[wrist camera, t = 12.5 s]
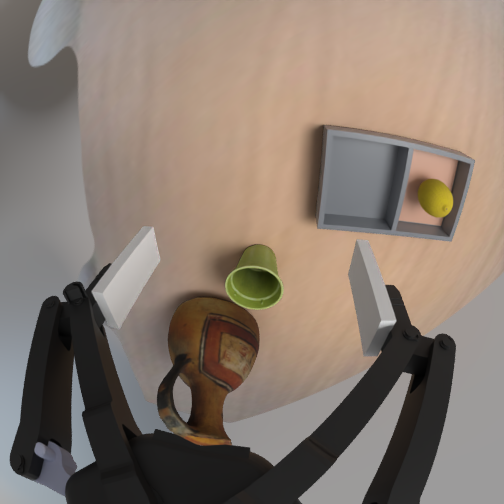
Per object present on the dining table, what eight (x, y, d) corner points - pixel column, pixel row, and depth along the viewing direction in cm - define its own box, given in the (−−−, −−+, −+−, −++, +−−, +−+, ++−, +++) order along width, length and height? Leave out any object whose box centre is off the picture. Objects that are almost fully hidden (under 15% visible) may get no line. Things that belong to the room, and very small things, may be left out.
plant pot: (292, 245, 48) (292, 277, 41) (275, 283, 54) (272, 315, 47) (242, 229, 48) (232, 258, 41) (229, 269, 53) (219, 300, 46)
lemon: (431, 206, 39) (452, 229, 32) (406, 198, 39) (425, 221, 32) (442, 177, 36) (466, 197, 29) (416, 167, 36) (439, 186, 29)
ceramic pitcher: (225, 352, 70) (200, 456, 45) (163, 310, 63) (116, 419, 39) (280, 324, 60) (268, 453, 36) (212, 270, 54) (161, 411, 29)
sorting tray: (323, 124, 36) (327, 129, 32) (461, 152, 33) (475, 160, 29) (315, 215, 44) (317, 228, 41) (441, 228, 42) (451, 241, 38)
